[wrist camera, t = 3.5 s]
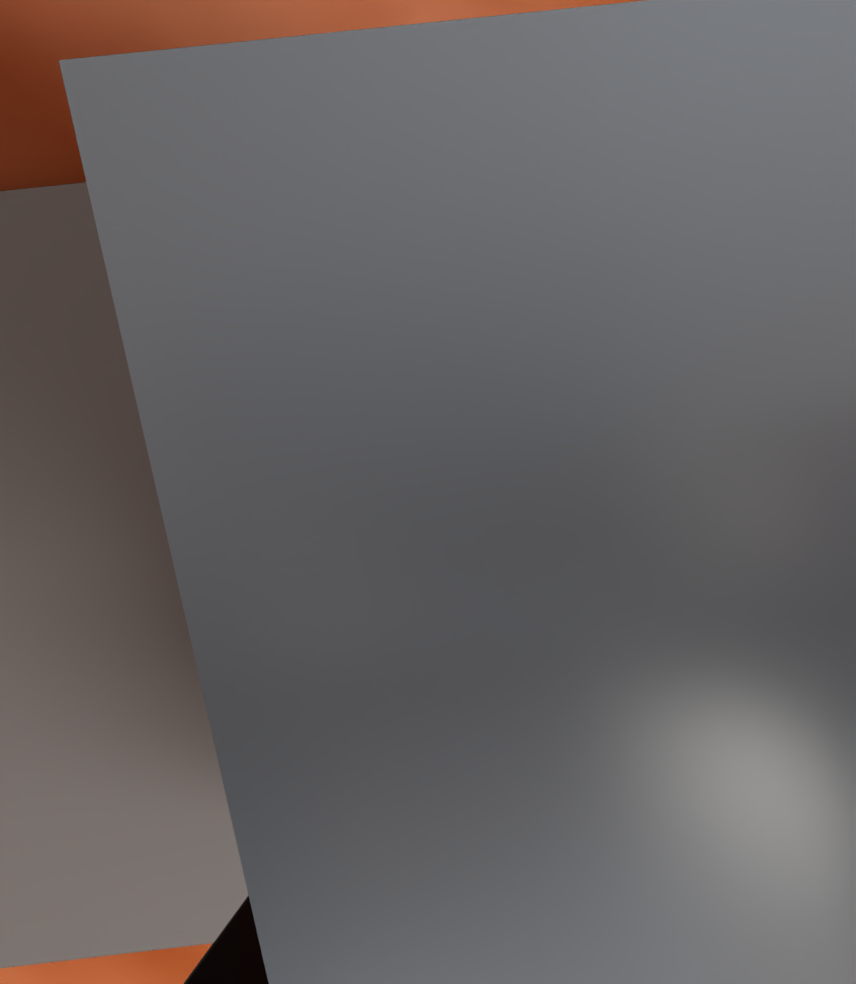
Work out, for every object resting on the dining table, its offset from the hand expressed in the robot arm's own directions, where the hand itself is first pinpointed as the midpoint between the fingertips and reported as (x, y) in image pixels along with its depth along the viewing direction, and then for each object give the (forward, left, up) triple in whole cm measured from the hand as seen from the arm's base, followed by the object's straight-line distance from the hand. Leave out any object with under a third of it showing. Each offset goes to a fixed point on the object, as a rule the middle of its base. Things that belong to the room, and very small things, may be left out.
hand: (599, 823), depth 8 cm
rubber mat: (+12, 0, -8) cm, 14 cm away
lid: (0, 0, +1) cm, 1 cm away
